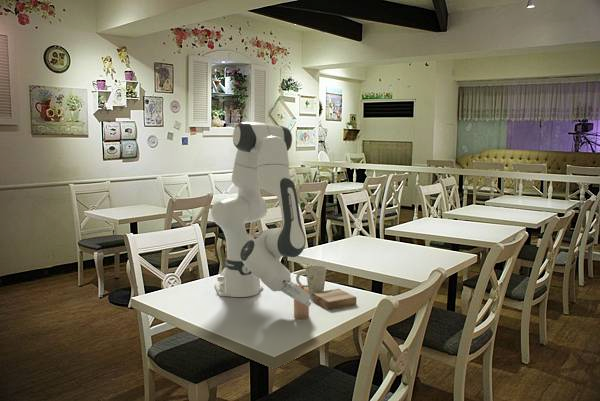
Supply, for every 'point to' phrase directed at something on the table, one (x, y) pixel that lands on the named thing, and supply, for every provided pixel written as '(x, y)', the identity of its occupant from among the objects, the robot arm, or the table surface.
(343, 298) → the pedestal
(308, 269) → the mug
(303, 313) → the canister
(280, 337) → the table surface
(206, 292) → the table surface
